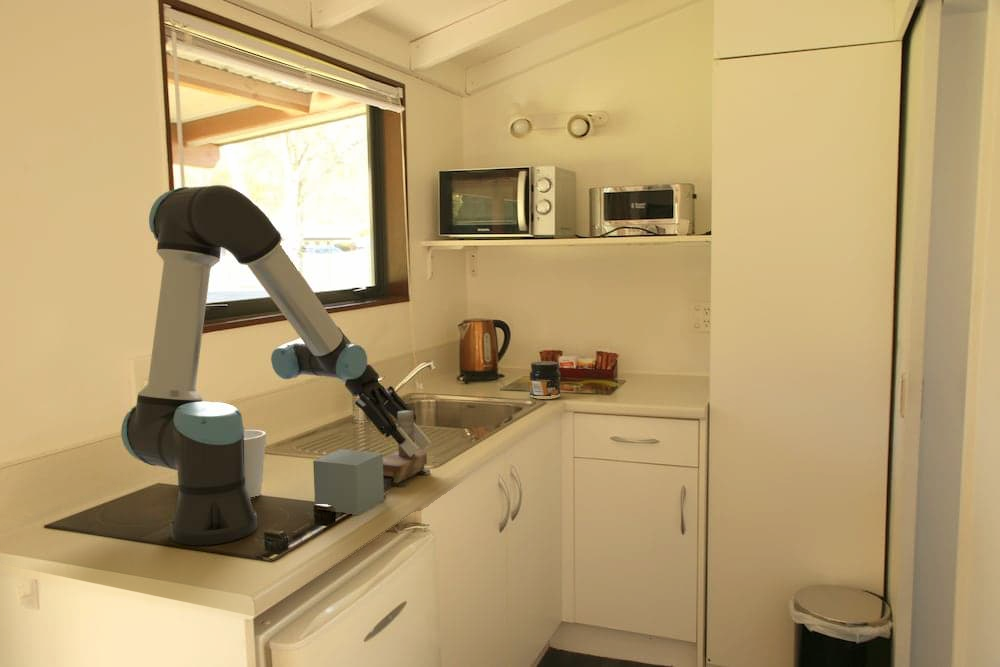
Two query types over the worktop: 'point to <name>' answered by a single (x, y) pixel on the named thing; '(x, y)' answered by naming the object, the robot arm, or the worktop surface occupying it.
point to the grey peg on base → (404, 453)
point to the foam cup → (254, 460)
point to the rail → (390, 481)
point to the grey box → (349, 480)
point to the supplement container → (544, 378)
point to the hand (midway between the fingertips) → (420, 449)
